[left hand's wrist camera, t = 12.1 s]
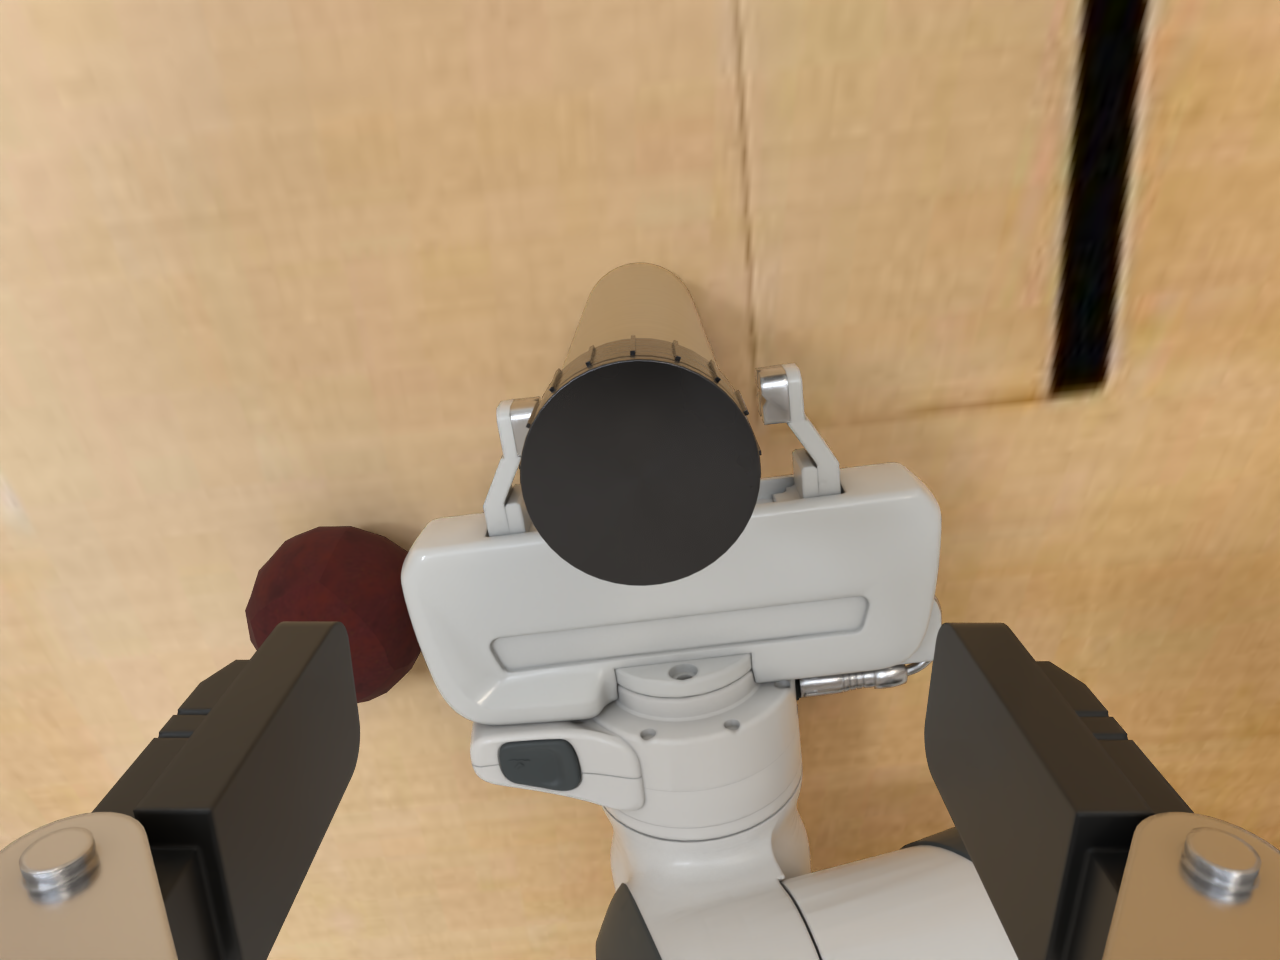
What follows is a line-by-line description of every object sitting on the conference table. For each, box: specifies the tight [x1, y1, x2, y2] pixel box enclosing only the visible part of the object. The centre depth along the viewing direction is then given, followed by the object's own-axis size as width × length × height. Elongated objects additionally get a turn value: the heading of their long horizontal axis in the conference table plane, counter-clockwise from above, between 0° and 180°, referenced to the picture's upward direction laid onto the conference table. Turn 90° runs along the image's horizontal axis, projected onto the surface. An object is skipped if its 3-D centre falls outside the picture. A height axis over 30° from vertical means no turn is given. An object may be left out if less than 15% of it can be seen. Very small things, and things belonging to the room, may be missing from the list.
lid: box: [519, 335, 761, 586], centre depth 20 cm, size 5×5×2 cm
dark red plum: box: [245, 526, 421, 703], centre depth 38 cm, size 7×8×7 cm
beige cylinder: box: [561, 263, 719, 371], centre depth 28 cm, size 5×5×19 cm
